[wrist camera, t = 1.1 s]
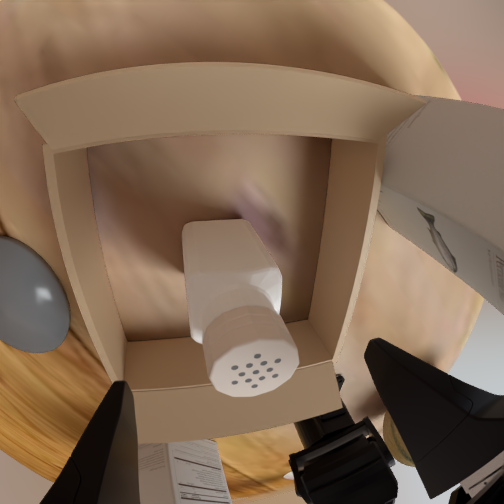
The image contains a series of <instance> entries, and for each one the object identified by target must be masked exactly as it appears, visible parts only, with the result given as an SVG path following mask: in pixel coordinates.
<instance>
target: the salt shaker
mask: <svg viewBox="0 0 504 504" xmlns="http://www.w3.org/2000/svg"><path fill="white" fill-rule="evenodd" d="M182 246H183V261H184V274H185V286H186V296H187V306H188V316H189V325H190V333H191V337H192V338H193V339H194V340H195V341H196V342H198V343H200V344H202V345H203V351H204V356H205V360H206V368H207V373H208V377H209V379H210V381H211V383H212V384H213V386H214V388H215V389H216V390H217V391H219V392H222V393H224V394H227V395H229V396H232V397H253V396H257V395H260V394H263V393H266V392H269V391H272V390H274V389H276V388H277V387H279V386H280V385H282V384H283V383H284V382H286V381H287V380H288V379H290V378H291V376H292V375H293V373H294V371H295V370H296V368H297V366H298V365H299V356H298V350H297V347H296V345H295V343H294V341H293V339H292V337H291V335H290V334H289V331H288V329H287V327H286V326H285V323H284V321H283V319H282V318H281V316H280V315H279V312H280V306H281V296H282V275H281V273H280V270H279V268H278V266H277V264H276V263H275V261H274V259H273V258H272V256H271V255H270V253H269V252H268V250H267V249H266V247H265V246H264V244H263V242H262V241H261V239H260V238H259V236H258V235H257V233H256V232H255V230H254V229H253V227H252V226H251V224H250V222H249V221H246V220H243V219H231V220H211V221H194V222H190V223H187V224H185V225H184V228H183V230H182Z"/></svg>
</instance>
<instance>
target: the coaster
mask: <svg viewBox="0 0 504 504" xmlns="http://www.w3.org/2000/svg"><path fill="white" fill-rule="evenodd" d="M69 325H70V307H69V302H68V299H67V296H66V293H65V291H64V288H63V286H62V284H61V283H60V281H59V279H58V277H57V276H56V274H55V273H54V271H53V270H52V269H51V268H50V266H49V265H48V264H47V263H46V262H45V261H44V260H43V258H42V257H41V256H39V255H38V254H37V253H36V252H35V251H34V250H32V249H31V248H30V247H28V246H27V245H25V244H24V243H22V242H20V241H18V240H16V239H13V238H10V237H7V236H0V340H2V341H3V342H5V343H6V344H8V345H10V346H12V347H14V348H16V349H19V350H22V351H25V352H30V353H45V352H49V351H52V350H54V349H56V348H57V347H58V346H59V345H61V343H62V342H63V341H64V339H65V337H66V335H67V332H68V329H69Z"/></svg>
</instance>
